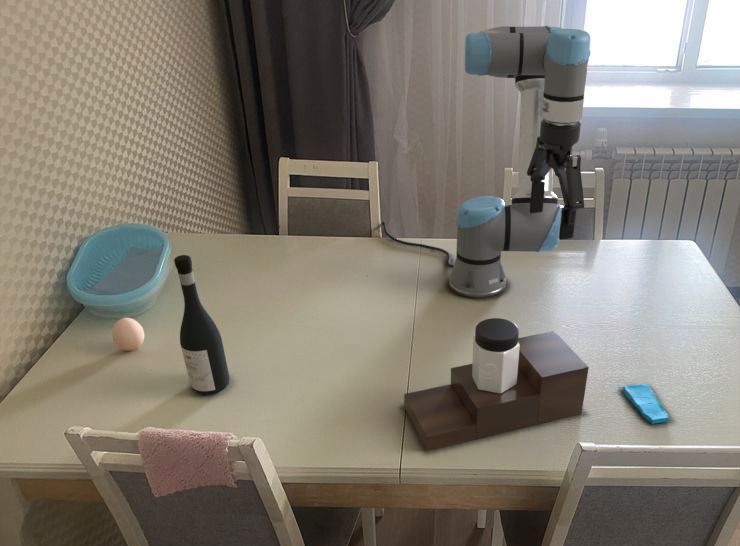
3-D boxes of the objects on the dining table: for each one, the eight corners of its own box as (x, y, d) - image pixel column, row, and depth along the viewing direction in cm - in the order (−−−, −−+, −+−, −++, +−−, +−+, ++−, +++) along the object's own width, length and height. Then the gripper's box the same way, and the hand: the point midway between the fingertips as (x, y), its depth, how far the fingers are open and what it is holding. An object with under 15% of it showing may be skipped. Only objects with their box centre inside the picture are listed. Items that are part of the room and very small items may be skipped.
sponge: (642, 421, 133) (671, 416, 133) (621, 385, 143) (648, 381, 143) (641, 427, 134) (670, 422, 134) (621, 391, 144) (648, 386, 144)
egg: (110, 353, 155) (101, 323, 151) (130, 338, 160) (122, 309, 156) (134, 358, 153) (125, 329, 149) (153, 343, 159) (145, 314, 154)
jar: (466, 388, 131) (468, 336, 125) (477, 365, 138) (479, 314, 131) (512, 397, 129) (516, 344, 123) (520, 373, 136) (525, 321, 129)
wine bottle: (209, 401, 140) (179, 270, 124) (183, 389, 144) (150, 260, 127) (238, 381, 146) (213, 254, 129) (212, 370, 149) (184, 245, 133)
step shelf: (404, 407, 139) (402, 361, 132) (549, 375, 148) (554, 330, 142) (426, 451, 128) (426, 402, 121) (581, 413, 137) (588, 367, 130)
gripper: (515, 105, 137) (509, 204, 149) (574, 142, 118) (562, 252, 130) (549, 101, 139) (540, 200, 151) (613, 137, 120) (596, 247, 132)
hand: (550, 224), depth 141 cm, fingers open, 13 cm apart
